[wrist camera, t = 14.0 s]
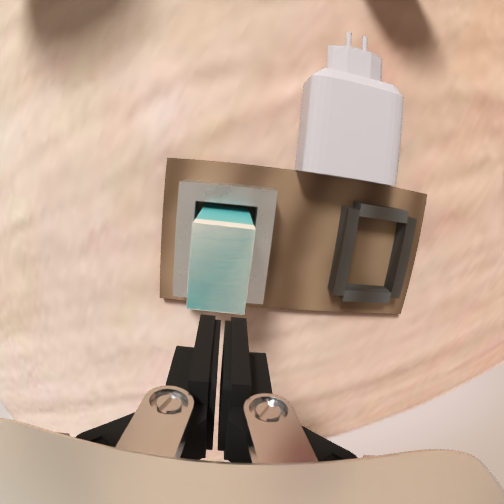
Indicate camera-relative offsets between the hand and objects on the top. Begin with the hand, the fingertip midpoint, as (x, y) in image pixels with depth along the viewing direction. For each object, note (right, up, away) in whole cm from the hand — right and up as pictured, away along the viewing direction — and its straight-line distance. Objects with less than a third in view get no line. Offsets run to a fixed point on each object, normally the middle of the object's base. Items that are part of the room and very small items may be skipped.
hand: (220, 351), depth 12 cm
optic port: (-2, +5, +20) cm, 21 cm away
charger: (+11, +19, +18) cm, 28 cm away
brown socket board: (+6, +5, +21) cm, 22 cm away
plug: (-2, +5, +19) cm, 20 cm away
